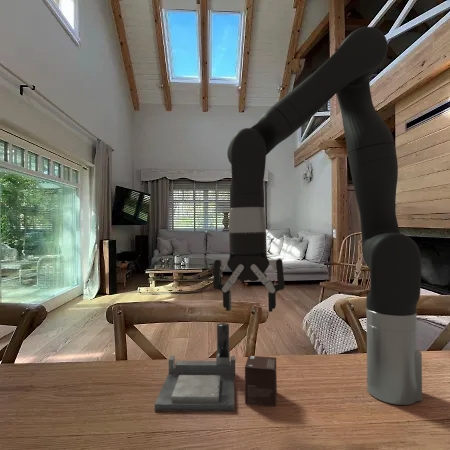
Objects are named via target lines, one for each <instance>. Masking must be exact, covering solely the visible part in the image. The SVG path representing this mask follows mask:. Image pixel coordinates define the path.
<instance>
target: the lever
mask: <svg viewBox="0 0 450 450" xmlns="http://www.w3.org/2000/svg"><path fill="white" fill-rule="evenodd" d="M230 355H231V353H230V324H229V323H225V322H220V323H217V325H216V357H215V359H216V360H215V361H216V365H230V361H231V356H230Z"/></svg>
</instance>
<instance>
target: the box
mask: <svg viewBox="0 0 450 450" xmlns="http://www.w3.org/2000/svg"><path fill="white" fill-rule="evenodd" d="M277 377H278V376H277V357H276V356H275V357H273V356H258V355H248V356H247V358H246V361H245V365H244V403H245V404H247V405H254V406H266V407H276V405H277V394H278V393H277V392H278V391H277V390H278V387H277V383H278V381H277Z"/></svg>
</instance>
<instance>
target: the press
mask: <svg viewBox="0 0 450 450" xmlns="http://www.w3.org/2000/svg"><path fill="white" fill-rule="evenodd" d="M235 380H236V356H235V355H231V356H230V365H216V360H177V361H176V356H175V355H170V356H169V358H168V374H167V376H166V378H165V380H164V382H163V385H162V387H161V390H160V392H159V394H158V397H157V398H156V400H155V402H154V412H227V413H228V412H233V413H234V412H235Z"/></svg>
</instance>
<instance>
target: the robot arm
mask: <svg viewBox="0 0 450 450" xmlns="http://www.w3.org/2000/svg"><path fill="white" fill-rule="evenodd" d="M388 50H389V44H388V40H387V37H386V36H385V34H384V33H383V31H381V30H380V29H378V28H376V27H373V26H362V27H359V28H358V29H354V30H353V31H352V32H350V34H348V35H347V36H346V37H345V39H344V40H343V41H342V42H341V44H340V46H339V47H338V48H337V50H336V51H334V52H333V53H332V55H331V56H330V57H329V58H328V59H327V60H326V61H325V62H324V63H322V65H320V66H319V67H318V68H317V69H316V70H315V71H314V72H313V73H311V74H310V75H309V76H308V77H307V78H305V79H304V80H303V81H302V82H300V83H299V84H298V85H297V86H295V87H294V88H293V89H292V90H290V91H289V92H288V93H287V94H285V95H284V96H283V97H282V98H281V99H279V100H278V101H277V102H275V103H274V104H273V105H271V106H270V107H269V108H268V109H267V110H266V111H264V113H262V115H261V116H260V118H259V119H258V120H257V122H255V123H254V124H253V125H251V126H250V127H246V128H242V129H239V130H238V131H237V132H235V133H234V135H233V136H232V137H231V140H230V143H229V145H228V148H227V152H226V153H227V159H228V162H229V163H230V168H231V181H230V186H229V215H228V216H229V218H228V234H229V237H228V238H229V257H228V259H221V258H217V259H216V260H214V262H213V285H212V286H213V289H215V290H218V291H221V292H222V306H223V309H226V311H227V312H228V311H229V312H230V311H231V310H232V291H231V288H232V286H233V285H234V283H235V282H236V281H237V280H239V281H240V282H246V281H249V282H257V281H260V282H261V283H262V285H263V286H265V288H266V289H267V291H268V312H269V313H270V312H271V313H272V312H273V310H275V309H276V307H277V306H276V305H277V301H276V299H277V298H276V297H277V294H276V293H277V292H278V291H283V290H284V289H285V276H284V264H283V259H282V258H277V259H269V258H268V254H267V251H268V250H267V249H268V248H267V218H266V211H265V190H264V189H265V188H264V182H265V180H264V179H265V171H266V162H267V161H266V160H267V156H268V154H269V153H270V152H271V151H273V150H274V149H275V148H276V147H277V146H278V145H279V144H280V143H283V141H285V140H287V139H288V138H289V137H291V136H292V135H293V134H294V133H295V132H297V131H298V130H299V129H301V128H302V127H303V126H304V125H305V124H306V123H307V122H308V121H310V119H312V117H314V116H315V115H316V114H317V112H319V111H320V110H321V109H322V108H323V107H324V106H325V105H326V104H327V103H328V102H329V101H330V100H331V99H332V98H334V96H335V95H336V98H337V101H338V105H339V108H340V113H341V119H342V127H343V131H344V137H345V138H344V139H345V143H346V144H345V145H346V153H347V158H348V164H349V170H350V176H351V178H352V179H351V180H352V186H353V189H354V195H355V198H356V203H357V206H358V211H359V216H360V217H359V218H360V228H361V229H360V231H361V250H362V251H361V253H362V258H363V261H364V263H365V265H366V266H367V267H368V268H369V269H370V280H369V281H370V283H369V284H370V285H369V292H368V293H367V295H366V298H365V299H366V300H365V302H366V303H365V304H366V305H365V307H366V314H365V315H366V388H367V389H366V390H367V391H368V393H369V394H370V395H371V396H372V397H374V398H376V399H378V400H379V401H382V402H384V403H387V404H391V405H399V406H408V405H412V404H415V403H416V402H422V401H423V359H422V358H423V354H422V352H421V351H420V350H418V343H417V342H418V340H417V339H418V337H417V336H418V333H417V332H418V331H417V328H418V327H417V323H418V321H417V306H418V303H419V302H420V301H419V300H420V297H421V285H422V283H421V282H422V279H421V278H422V258H421V251H420V249H419V245H418V244H417V243H416V242H415V241H414V240H413V239H412V238H411V237H410V236H408V235H406V234H404V233H401V232H400V227H399V224H398V223H399V222H398V219H397V214H396V194H397V189H398V188H397V187H398V179H399V177H398V175H399V166H398V165H399V163H398V155H397V150H396V145H395V140H394V135H393V134H392V132H391V130H390V127H389V126H388V125H387V124H386V122H385V121H384V119H382V117H381V116H380V115H379V113H378V112H377V110H376V108H375V106H374V104H373V99H372V92H371V85H370V84H371V83H370V82H371V81H370V78H371V76H372V75H373V74H374V73H376V71H377V70H378V69H380V67H381V66H382V65H383V63H384V62H385V60H386V57H387V55H388ZM269 266H271V267H272V270H273V271H276V279H277V283H273V282H272V281H271V279H270V277H269V276H268V275H267V273H266V271H267V269H268V268H269ZM226 267H228V268H229V270H230V271H231V272H232V274H231V275H230V276H229V277H228V279H227V281H226V282H225V283H223V282H222V280H223V279H222V275H223V271H224V270H225V268H226Z"/></svg>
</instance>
